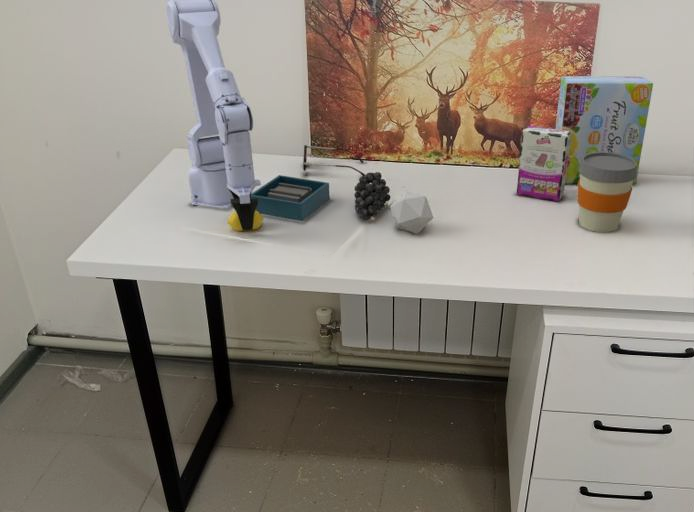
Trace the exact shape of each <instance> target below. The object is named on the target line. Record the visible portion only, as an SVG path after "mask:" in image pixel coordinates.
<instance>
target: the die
mask: <svg viewBox="0 0 694 512" xmlns="http://www.w3.org/2000/svg"><path fill="white" fill-rule="evenodd" d="M389 208H390V210H391V213H392V216H393V218H394V221H395V224H396V226H397V228H398V229H401V230H403V231H405V232H409V233H412V234H415V235H418V234H419V233H420V232H421V231H422V230H423V229H424V228H425V227H426V226H427V225H428V224H429V223H430V222H432V220H433V219H434V214H433V212H432V209H431V207H430V204H429V201H428V198H427V196H425V195H423V194H420V193H416V192H413V191H410V190H406V191H405V192H404V193H402V195H400V197H398V198H397V200H396V201H395V202H393V203H392V204H391V205H390V207H389Z"/></svg>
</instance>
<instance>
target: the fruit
mask: <svg viewBox="0 0 694 512" xmlns="http://www.w3.org/2000/svg"><path fill="white" fill-rule="evenodd" d="M382 177H383V175H382V173H381V172H380V171H376V172H367V173H366V174H365V176H362V175H361V176H360V177H359V180H358V181H359V182H357V183H356V185H355V186H354V191H355V192H354V198H355V199H354V204H355V205H354V210H355V213H356V214H358V216H359V217H360V218H362V219H363V220H364V221H370V220H371V218H372V216H375V217H376V216H377V215H378V212H379V211H381V210H382V209H383V208H385V205H386V203H387V202H389V201H390V200H391V195H390V191H391V189H390V187H389V186H388V185H387V181H386V180H385V179H384V178H382Z"/></svg>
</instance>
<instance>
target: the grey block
mask: <svg viewBox="0 0 694 512" xmlns="http://www.w3.org/2000/svg"><path fill="white" fill-rule="evenodd" d="M311 194H312V188H310V187H304V186H298V185H291V184H285V183H279V186H278V187H277V188H275V189H270V192H269V193H268V197H269V198H275V199H281V200H287V201H293V202H299V203H300V202H302V201H303V200H304V199H306V198H307V197H308V196H310V195H311Z"/></svg>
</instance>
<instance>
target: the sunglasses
mask: <svg viewBox="0 0 694 512" xmlns="http://www.w3.org/2000/svg"><path fill="white" fill-rule="evenodd" d="M308 149H322V150H335V151H344V152H345V151H346V152H349V153H350V154H352V155H353V156H354V157H356V158H357V159H358V161H360V163H361V164H363V163H364V160H363V159H362V158H361V157H359V155H358V154H356V153H354V152H353V151H352V150H350V149H346V148H339V147H320V146H313V145H306V144H304V147H303V161H302V164H303V165H302V167H303V168H302V169H303V170H302V171H303V172H304V173H303V174H304V176H306V171H307V166H321V167H322V166H323V167H335V168H337V167H338V168H347V169H348V168H349V169H353V170H354V171H356V172H358V173H359V175H361V177H362V176H365V177H366V174H365V173H364V172H363V171H361V170H359V169H357V168H355V167H353V166H352V165H351V166H350V165H339V164H326V163H325V164H324V163H323V164H322V163H313V162H307V159H308V158H307V154H308Z"/></svg>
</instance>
